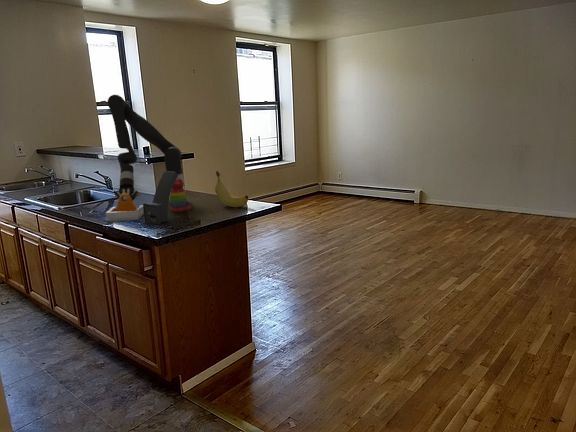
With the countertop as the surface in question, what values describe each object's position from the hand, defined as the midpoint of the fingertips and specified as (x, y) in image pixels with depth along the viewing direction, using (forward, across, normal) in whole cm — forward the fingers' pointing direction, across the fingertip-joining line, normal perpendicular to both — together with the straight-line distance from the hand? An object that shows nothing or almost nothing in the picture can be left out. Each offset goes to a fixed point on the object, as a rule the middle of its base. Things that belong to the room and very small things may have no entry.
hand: (126, 206), depth 240 cm
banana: (+3, +58, +3) cm, 58 cm away
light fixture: (+17, +21, -11) cm, 29 cm away
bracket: (+7, 0, -1) cm, 7 cm away
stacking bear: (+2, +28, +5) cm, 28 cm away
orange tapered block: (+5, 0, +2) cm, 5 cm away
